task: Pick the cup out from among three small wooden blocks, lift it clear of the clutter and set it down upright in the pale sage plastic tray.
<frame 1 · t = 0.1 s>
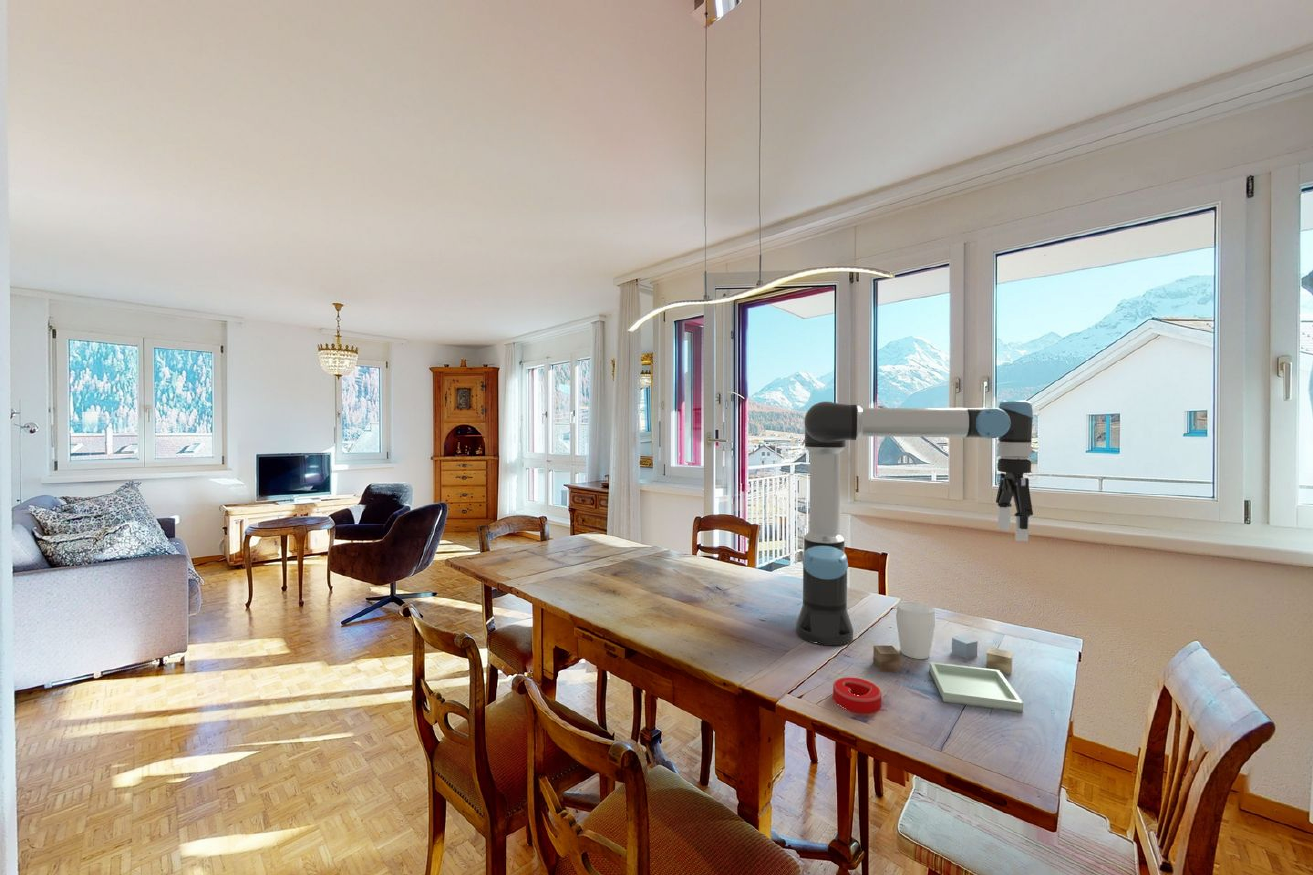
hand: (1012, 535, 146), 28 cm above the table, fingers open, 13 cm apart
cup: (914, 654, 136), on the table
walnut block: (886, 667, 129), on the table
tray: (972, 689, 118), on the table
oak block: (999, 668, 128), on the table
decorative ornament: (856, 702, 114), on the table
slate blue block: (964, 654, 136), on the table
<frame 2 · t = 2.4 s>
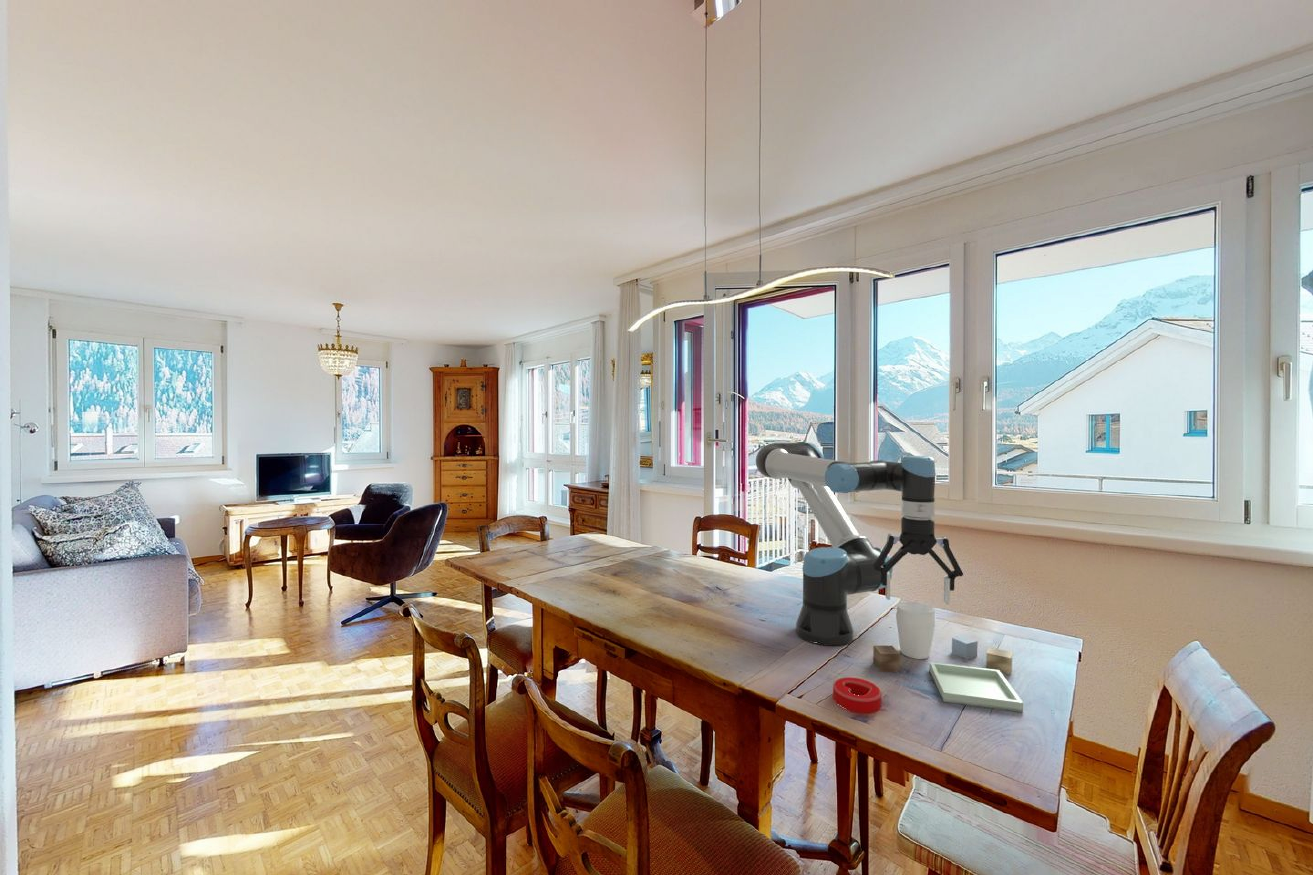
hand: (916, 600, 135), 14 cm above the table, fingers open, 13 cm apart
nothing on the table moved.
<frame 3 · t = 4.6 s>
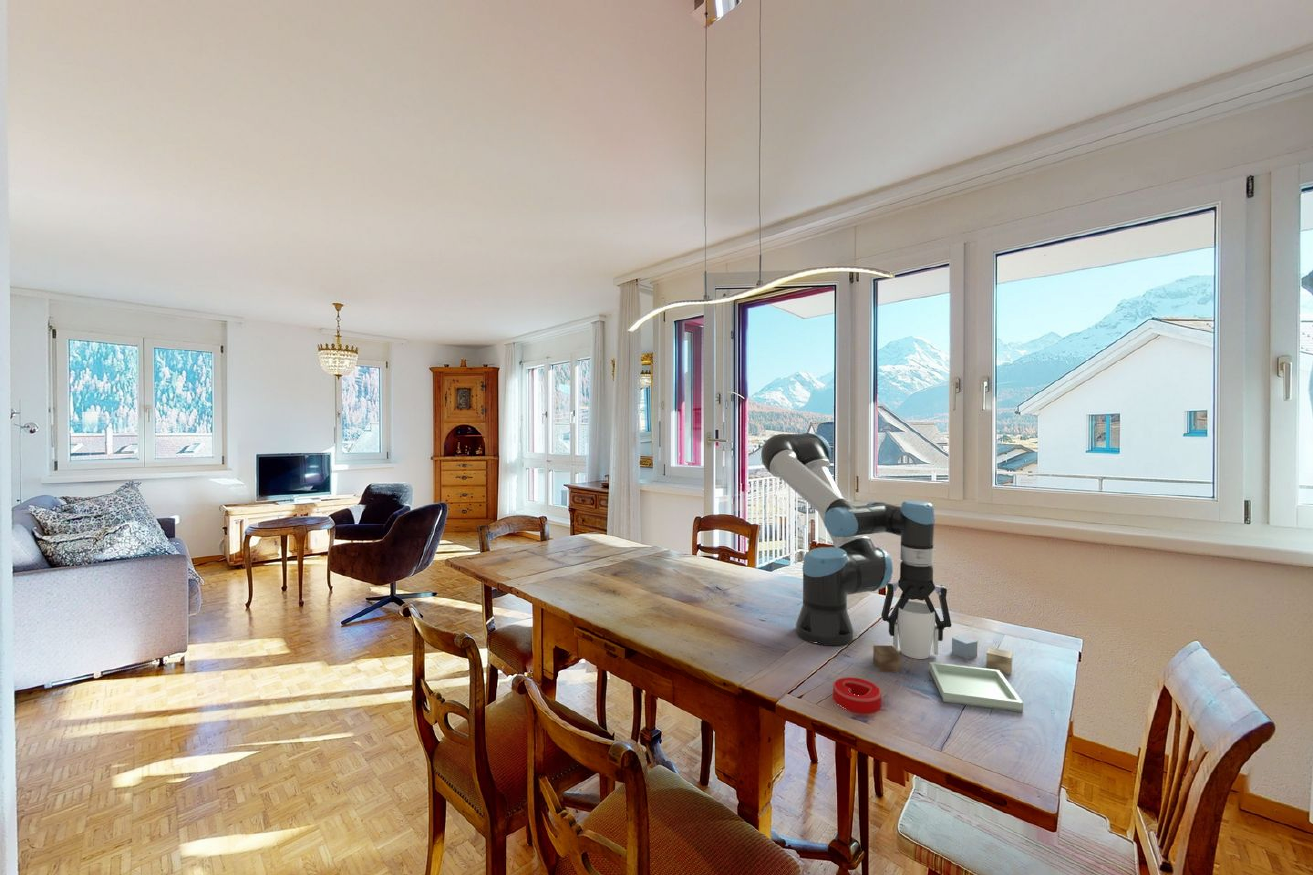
hand: (914, 650, 136), 1 cm above the table, fingers closed on cup, 9 cm apart
cup: (914, 654, 136), on the table, touching gripper
everything else where it was.
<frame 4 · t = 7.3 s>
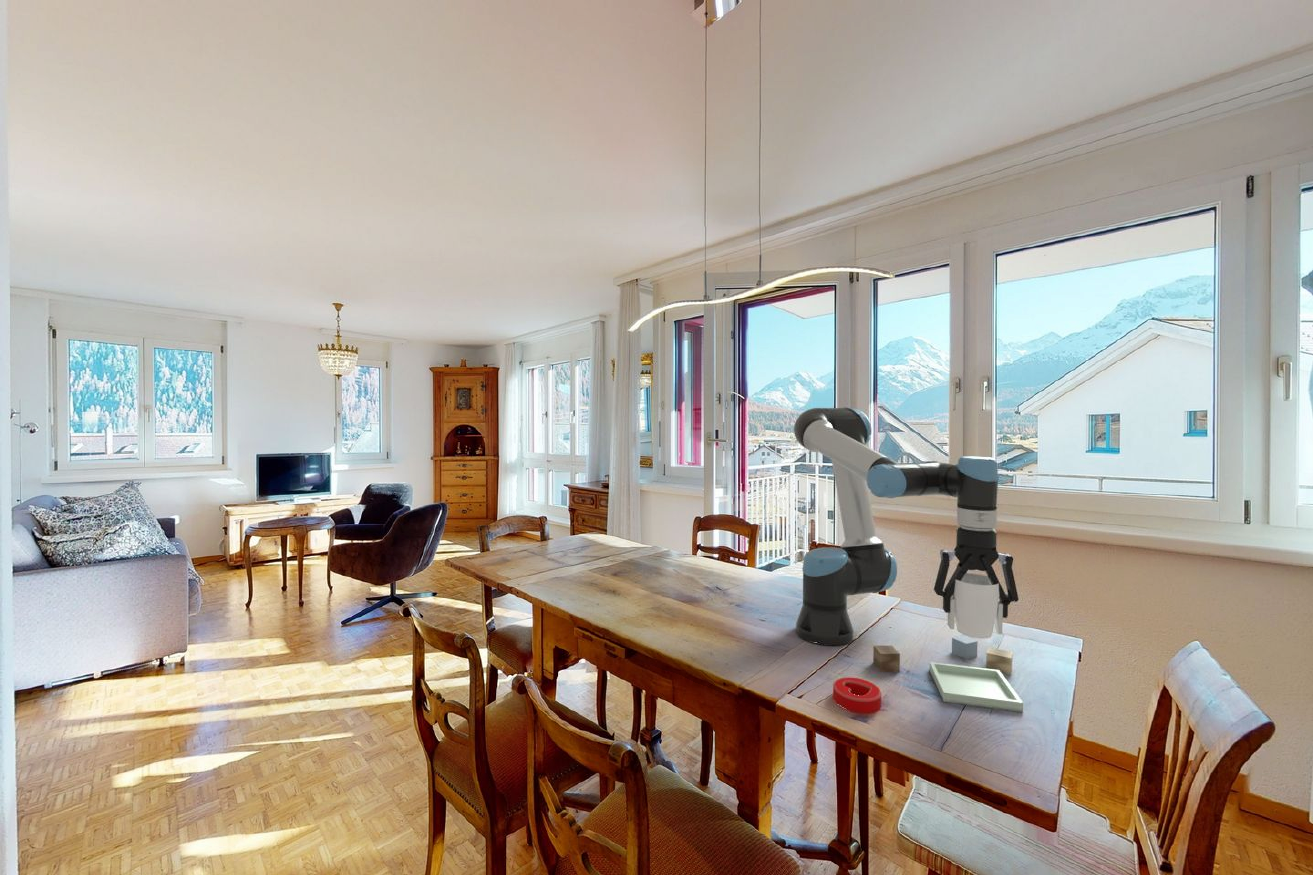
hand: (974, 628, 118), 14 cm above the table, fingers closed on cup, 9 cm apart
cup: (974, 633, 118), point 13 cm above the table, touching gripper
everything else where it was.
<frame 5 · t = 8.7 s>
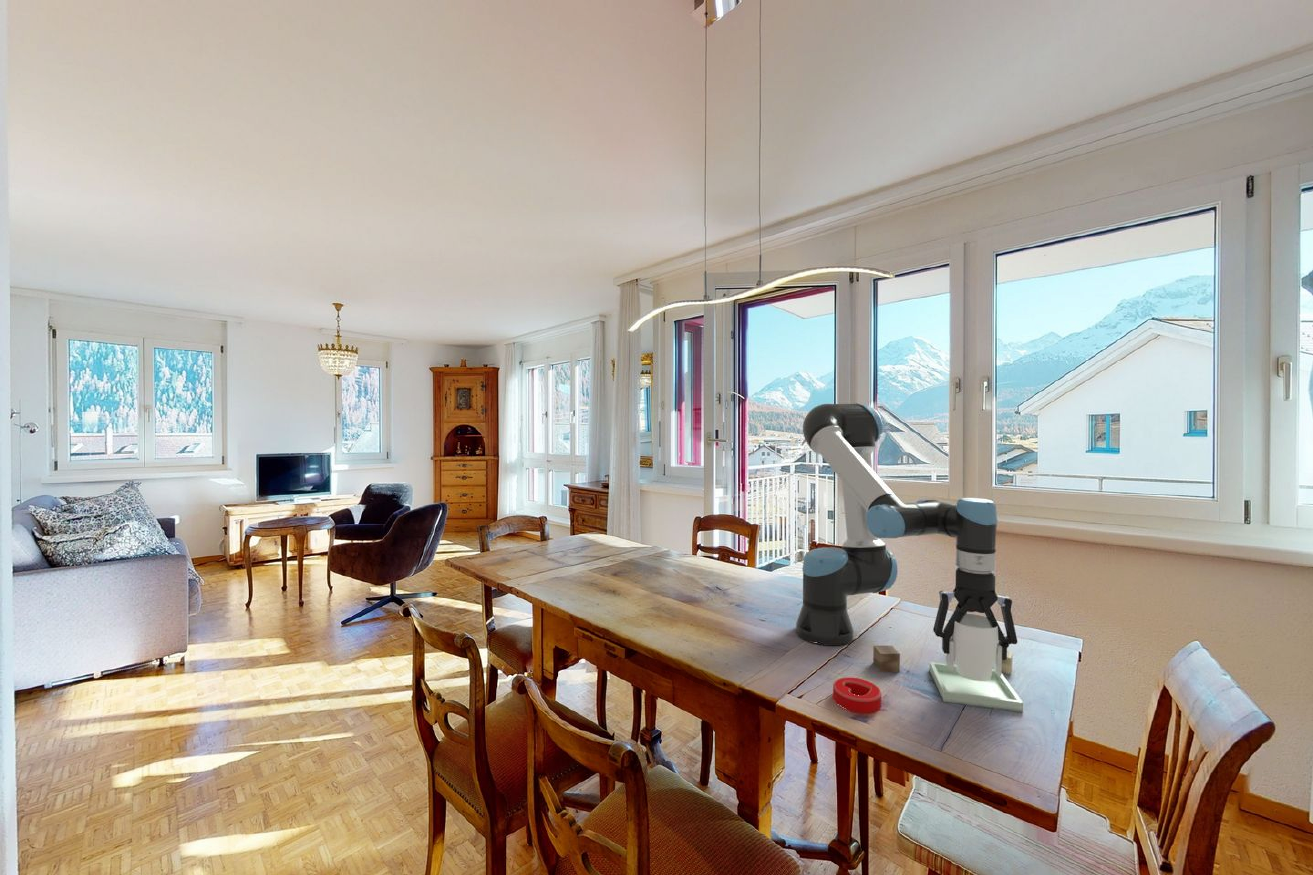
hand: (973, 670, 118), 4 cm above the table, fingers closed on cup, 9 cm apart
cup: (973, 674, 118), point 3 cm above the table, touching gripper
everything else where it was.
when the fingers open (3 cm above the table, at t = 10.0 s): cup drops 1 cm, resting on tray.
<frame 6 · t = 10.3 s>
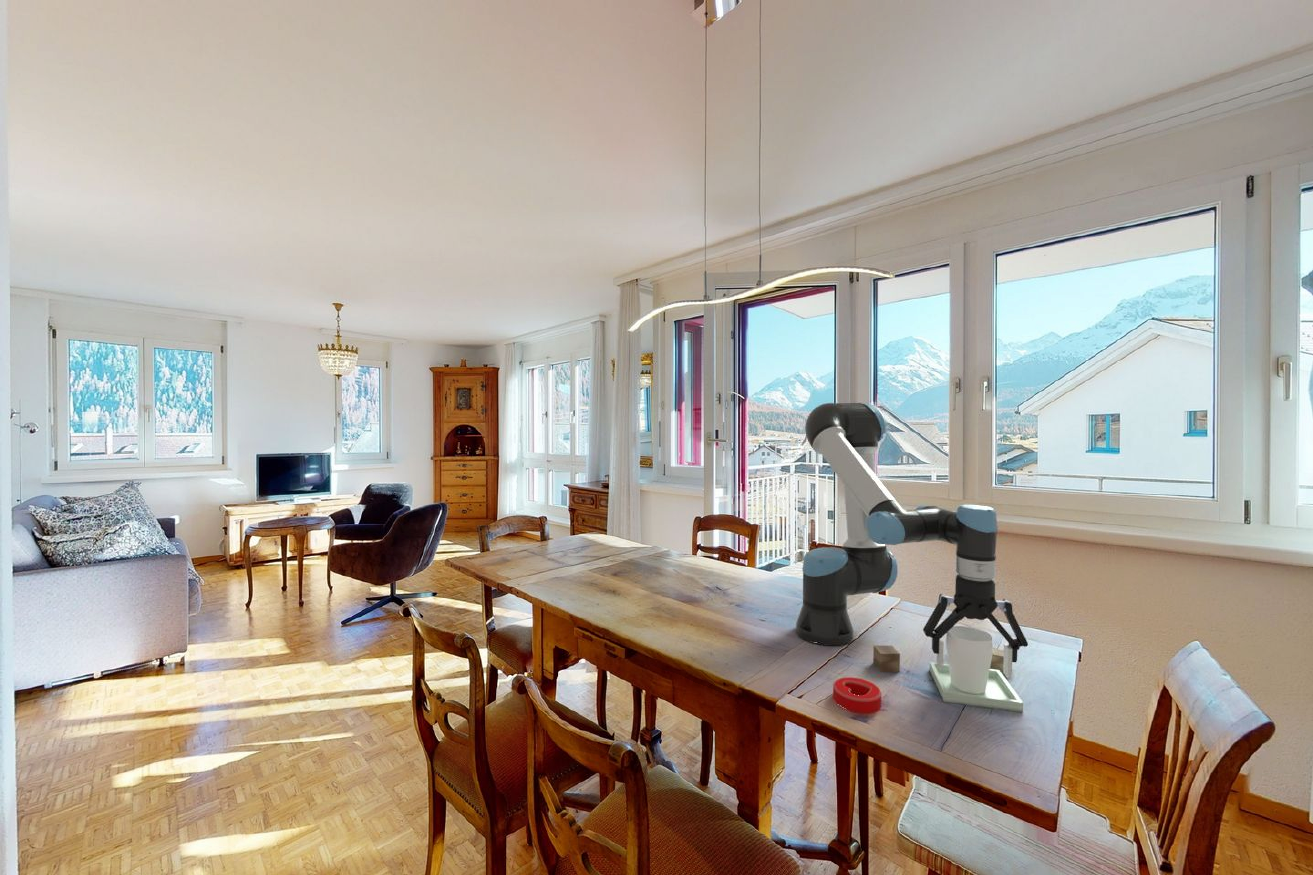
hand: (972, 671, 118), 4 cm above the table, fingers open, 13 cm apart
cup: (968, 687, 119), resting on tray
everything else where it was.
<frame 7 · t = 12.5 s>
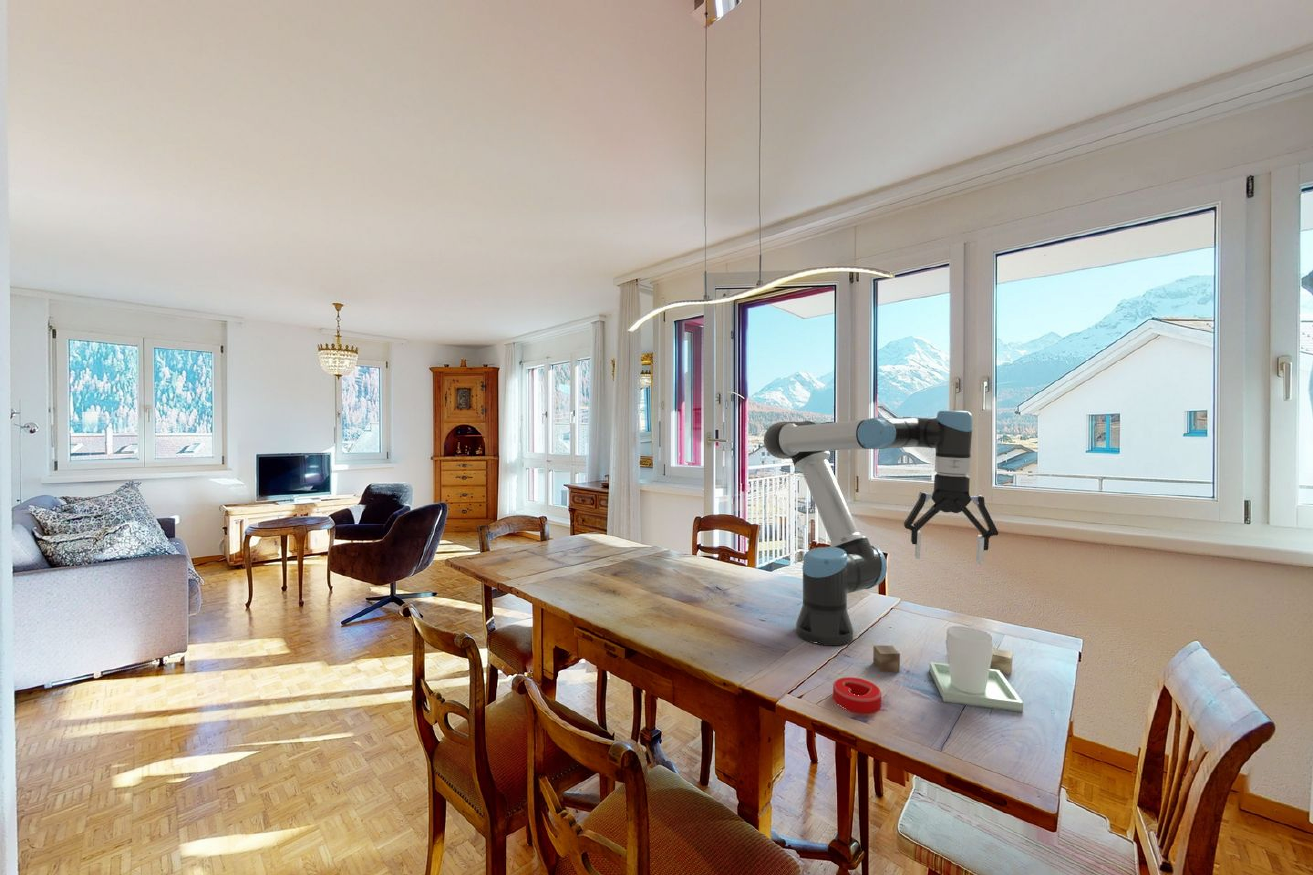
hand: (948, 560, 131), 25 cm above the table, fingers open, 13 cm apart
nothing on the table moved.
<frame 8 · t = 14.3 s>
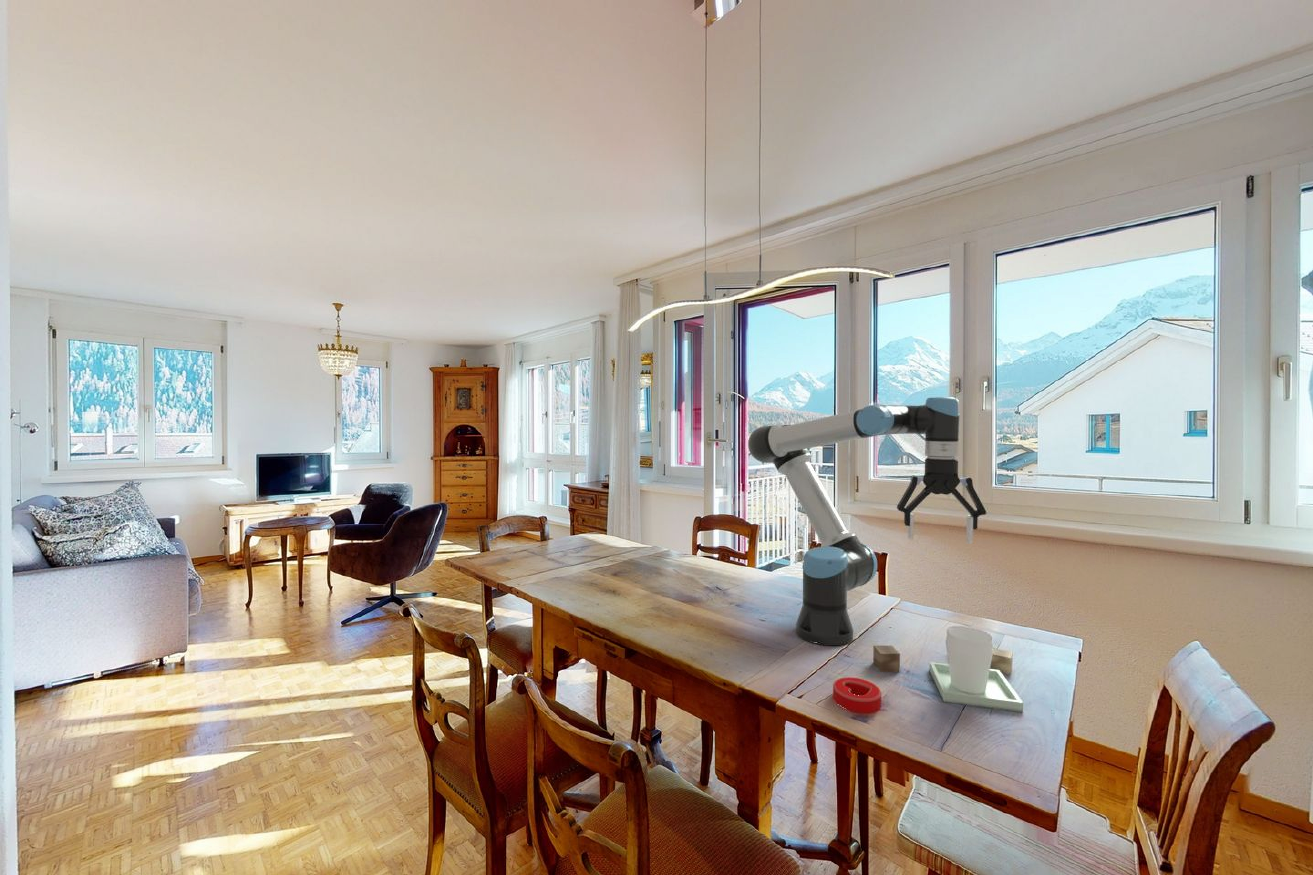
hand: (939, 540, 137), 29 cm above the table, fingers open, 13 cm apart
nothing on the table moved.
at the end: cup inside the target area on the tray (0.9 cm from its centre), point 0.3 cm above the tray's base; cup tilted 0°; the gripper is holding nothing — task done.
